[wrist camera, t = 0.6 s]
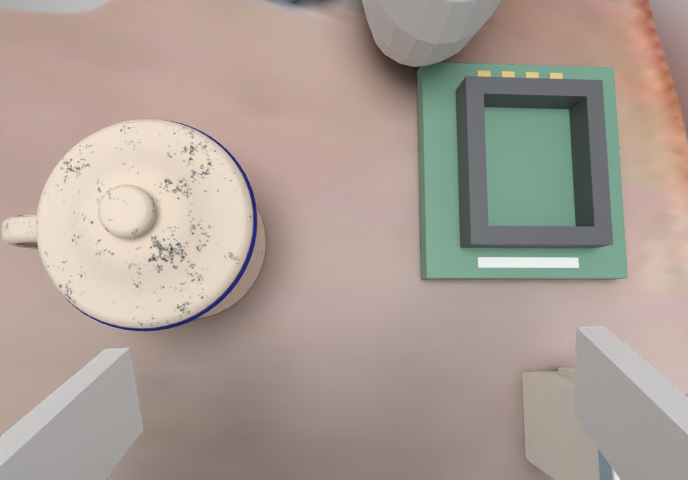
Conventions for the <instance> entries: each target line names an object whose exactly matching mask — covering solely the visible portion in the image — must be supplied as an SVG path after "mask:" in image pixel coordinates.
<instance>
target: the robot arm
mask: <svg viewBox="0 0 688 480" xmlns="http://www.w3.org/2000/svg"><path fill="white" fill-rule="evenodd" d="M574 415H575V416H576V418H577V419H578V421H579V422H580V423H581V425H582V426H583V428H584V429H585V430H586V432H587V433H588V435H589V436H590V437H591V439H592V440H593V442H594V443H595V444H596V446H597V447H598V449H599V450H600V451H601V453H602V454H603V456H604V457H605V458H606V460H607V461H608V463H609V464H610V466H611V467H612V468H613V470H614V471H615V473H616V474H617V475H618V477H619V478H620V480H688V396H686V395H685V394H684V393H683V392H682V391H681V390H679V389H678V388H677V387H676V386H675V385H673V384H672V383H671V382H670V381H669V380H668V379H666V378H665V377H664V376H663V375H662V374H660V373H659V372H658V371H657V370H656V369H655V368H653V367H652V366H651V365H650V364H649V363H647V362H646V361H645V360H644V359H643V358H642V357H640V356H639V355H638V354H637V353H636V352H635V351H633V350H632V349H631V348H630V347H629V346H627V345H626V344H625V343H624V342H623V341H622V340H620V339H619V338H618V337H617V336H616V335H614V334H613V333H612V332H611V331H610V330H609V329H607V328H606V327H605V326H583V327H576V358H575V397H574ZM143 430H144V429H143V423H142V417H141V411H140V405H139V399H138V393H137V387H136V381H135V375H134V369H133V363H132V357H131V352H130V348H109V349H104V350H103V351H102V352H101V353H99V354H98V355H97V356H96V357H95V358H93V359H92V360H91V361H90V362H89V363H87V364H86V365H85V366H84V367H83V368H82V369H80V370H79V371H78V372H77V373H76V374H74V375H73V376H72V377H71V378H70V379H68V380H67V381H66V382H65V383H64V384H62V385H61V386H60V387H59V388H58V389H56V390H55V391H54V392H53V393H52V394H50V395H49V396H48V397H47V398H46V399H44V400H43V401H42V402H41V403H40V404H38V405H37V406H36V407H35V408H34V409H32V410H31V411H30V412H29V413H28V414H27V415H25V416H24V417H23V418H22V419H21V420H19V421H18V422H17V423H16V424H15V425H13V426H12V427H11V428H10V429H9V430H7V431H6V432H5V433H4V434H3V435H1V436H0V480H106V479H107V478H108V477H109V475H110V474H111V473H112V471H113V470H114V469H115V467H116V466H117V465H118V463H119V462H120V461H121V459H122V458H123V457H124V455H125V454H126V453H127V451H128V450H129V449H130V447H131V446H132V445H133V443H134V442H135V441H136V439H137V438H138V437H139V435H140V434H141V433H142V431H143Z"/></svg>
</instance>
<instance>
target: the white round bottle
mask: <svg viewBox="0 0 688 480" xmlns="http://www.w3.org/2000/svg"><path fill="white" fill-rule="evenodd" d="M501 1H502V0H362V3H363V7H364V11H365V14H366V18H367V21H368V24H369V27H370V29H371V32H372V35H373V38H374V41H375V43H376V45H377V46H378V47H379V48H380V50H381V51H382V52H383V53H384V54H385V55H386V56H388V57H390V58H391V59H393V60H394V61H396V62H398V63H400V64H404V65H408V66H412V67H418V66H427V65H431V64H435V63H438V62H441V61H443V60H445V59H447V58H449V57H451V56H453V55H454V54H456V53H458V52H460V50H461V49H462V48H463V47H464V46H465V45H466V44H467V43H468V42H469V41H470V40H471V39H472V38H473V36H474V35H475V34H476V33H477V32H478V31H479V30H480V28H481V27H482V26H483V25H484V24H485V23H486V22H487V20H488V19H489V18H490V17H491V16H492V15H493V14H494V12H495V11H496V9H497V8H498V6H499V4H500V3H501Z"/></svg>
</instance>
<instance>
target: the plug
mask: <svg viewBox="0 0 688 480" xmlns="http://www.w3.org/2000/svg"><path fill="white" fill-rule="evenodd" d="M522 385H523V409H524V433H525V456H526V459H527V460H528V461H529V462H531V463H532V464H533V465H535V466H536V467H538V468H539V469H540V470H542V471H543V472H545V473H546V474H547V475H549V476H550V477H552V478H553V479H554V480H620V478H619V477H618V475H617V474H616V473H615V471H614V470H613V468H612V467H611V466H610V464H609V463H608V461H607V460H606V458H605V457H604V456H603V454H602V453H601V451H600V450H599V449H598V447H597V446H596V444H595V443H594V442H593V440H592V439H591V437H590V436H589V435H588V433H587V432H586V430H585V429H584V428H583V426H582V425H581V423H580V422H579V421H578V419H577V418H576V416H575V415H574V397H575V367H564V368H558V371H524V372H522ZM685 395H686V396H688V394H685Z"/></svg>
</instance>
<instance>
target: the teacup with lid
mask: <svg viewBox="0 0 688 480" xmlns="http://www.w3.org/2000/svg"><path fill="white" fill-rule="evenodd" d="M2 239H3V241H4V242H6V243H7V244H9V245H13V246H17V247H24V248H32V249H39V253H40V257H41V260H42V263H43V265H44V267H45V270H46V272H47V274H48V275H49V277H50V279H51V281H52V282H53V283H54V285H55V286H56V288H57V289H58V290H59V292H60V293H61V294H62V295H63V296H64V297H65V298H66V299H67V300H68V301H69V302H70V303H71V304H72V305H73V306H74V307H75V308H77V309H78V310H80V311H81V312H82V313H84V314H85V315H87V316H89V317H91V318H92V319H94V320H96V321H99V322H101V323H103V324H106V325H109V326H112V327H116V328H120V329H125V330H133V331H155V330H162V329H168V328H172V327H176V326H179V325H182V324H185V323H188V322H190V321H192V320H194V319H197V318H203V317H207V316H211V315H214V314H217V313H219V312H221V311H223V310H225V309H227V308H229V307H230V306H232V305H233V304H235V303H236V302H237V301H239V300H240V299H241V298H242V297H243V296H244V295H245V294H246V293H247V292H248V291H249V289H250V288H251V287H252V285H253V284H254V282H255V280H256V279H257V277H258V275H259V273H260V270H261V268H262V265H263V261H264V257H265V250H266V236H265V229H264V225H263V221H262V219H261V216H260V214H259V212H258V209H257V207H256V203H255V199H254V195H253V191H252V189H251V186H250V183H249V181H248V179H247V177H246V175H245V173H244V171H243V170H242V168H241V166H240V165H239V163H238V162H237V161H236V160H235V158H234V157H233V156H232V155H231V154H230V153H229V152H228V150H227V149H225V148H224V147H223V146H222V145H221V144H220V143H219V142H217V141H216V140H214V139H213V138H212V137H210V136H208V135H207V134H205V133H203V132H201V131H199V130H197V129H195V128H193V127H190V126H187V125H184V124H181V123H177V122H173V121H166V120H156V119H139V120H131V121H125V122H121V123H117V124H114V125H111V126H108V127H106V128H103V129H101V130H98V131H97V132H95V133H93V134H91V135H89V136H88V137H86V138H85V139H83V140H82V141H80V142H79V143H78V144H77V145H75V146H74V147H73V148H72V149H71V150H70V151H69V152H68V153H67V154H66V155H65V156H64V157H63V158H62V159H61V160H60V162H59V163H58V164H57V165H56V167H55V168H54V170H53V171H52V173H51V175H50V176H49V178H48V180H47V182H46V184H45V187H44V189H43V191H42V194H41V197H40V201H39V205H38V210H37V215H18V216H13V217H10V218H7V219H6V220H5V221H4V222H3V224H2Z"/></svg>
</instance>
